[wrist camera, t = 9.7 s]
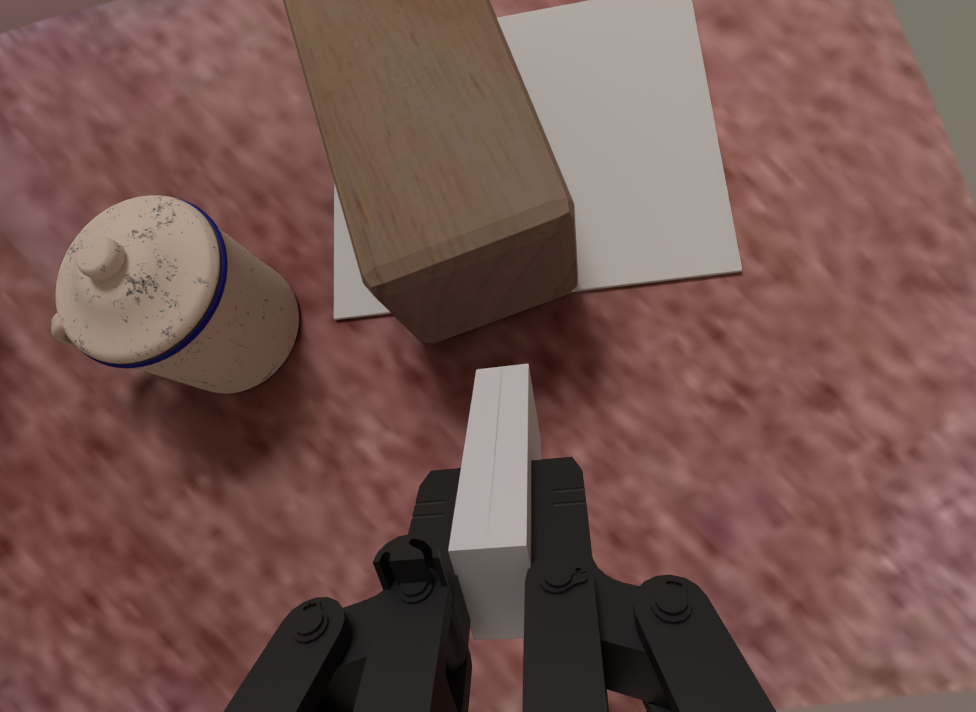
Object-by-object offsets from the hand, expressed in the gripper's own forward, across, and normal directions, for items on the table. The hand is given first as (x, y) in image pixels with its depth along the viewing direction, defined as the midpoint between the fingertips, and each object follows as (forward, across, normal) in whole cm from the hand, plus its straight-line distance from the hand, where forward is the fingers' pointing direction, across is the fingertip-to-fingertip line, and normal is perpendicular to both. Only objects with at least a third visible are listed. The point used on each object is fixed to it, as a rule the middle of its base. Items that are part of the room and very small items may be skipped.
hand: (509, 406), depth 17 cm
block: (+13, -2, -2) cm, 13 cm away
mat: (+25, 0, +2) cm, 25 cm away
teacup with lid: (+18, -20, -5) cm, 28 cm away
